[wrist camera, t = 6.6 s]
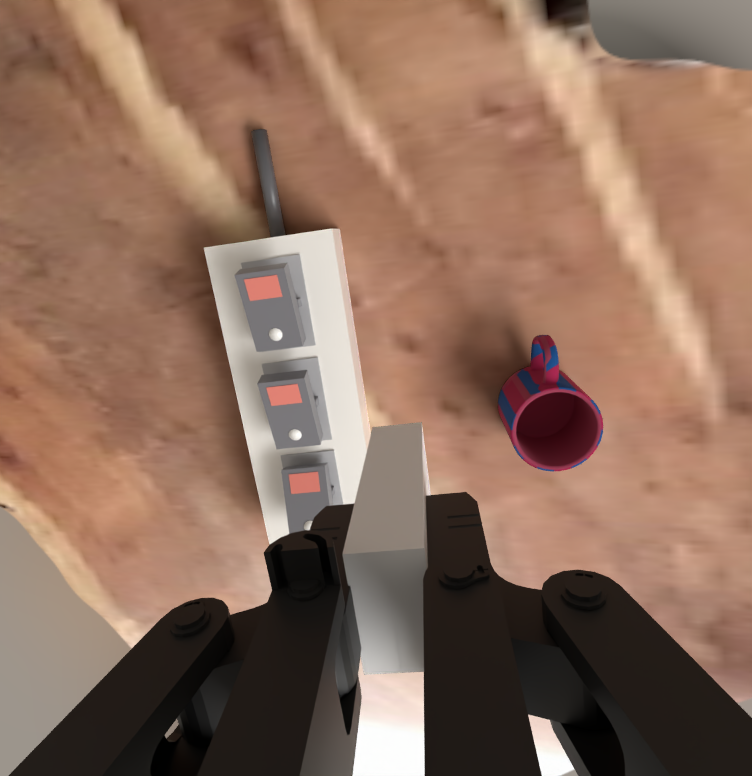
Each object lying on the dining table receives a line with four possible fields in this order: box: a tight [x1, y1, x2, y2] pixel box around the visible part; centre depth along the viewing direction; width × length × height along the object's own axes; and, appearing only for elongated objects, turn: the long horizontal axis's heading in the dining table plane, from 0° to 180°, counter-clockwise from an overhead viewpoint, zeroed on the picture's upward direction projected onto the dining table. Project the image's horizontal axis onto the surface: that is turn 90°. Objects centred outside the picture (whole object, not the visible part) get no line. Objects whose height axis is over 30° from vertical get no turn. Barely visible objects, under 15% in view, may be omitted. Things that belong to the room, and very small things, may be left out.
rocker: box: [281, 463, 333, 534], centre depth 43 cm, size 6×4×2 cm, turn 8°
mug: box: [498, 335, 603, 471], centre depth 42 cm, size 7×10×7 cm
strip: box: [204, 129, 371, 544], centre depth 43 cm, size 34×10×5 cm, turn 8°
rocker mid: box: [257, 370, 323, 449], centre depth 41 cm, size 6×4×1 cm, turn 8°
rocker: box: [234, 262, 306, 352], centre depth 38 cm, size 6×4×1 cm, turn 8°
